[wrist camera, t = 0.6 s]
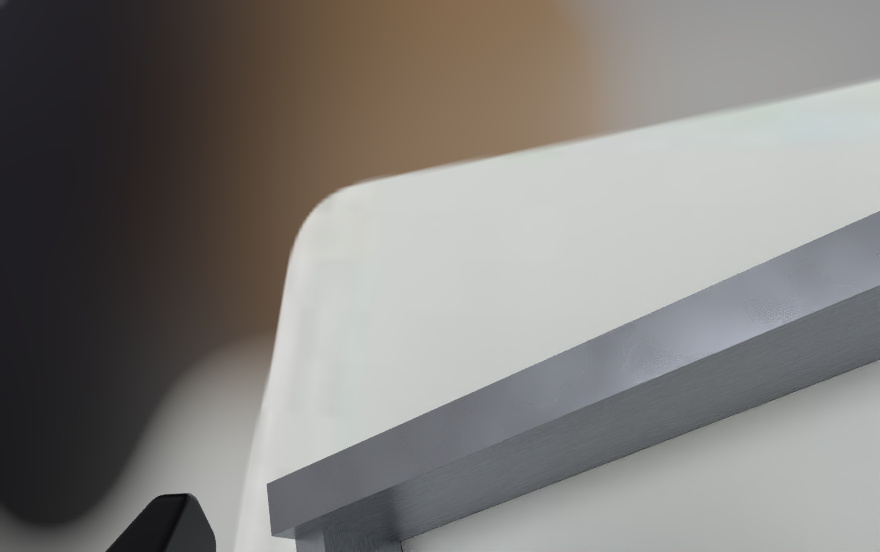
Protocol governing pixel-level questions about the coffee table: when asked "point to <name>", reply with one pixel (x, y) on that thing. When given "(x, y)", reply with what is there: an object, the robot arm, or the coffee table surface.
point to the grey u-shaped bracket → (599, 399)
